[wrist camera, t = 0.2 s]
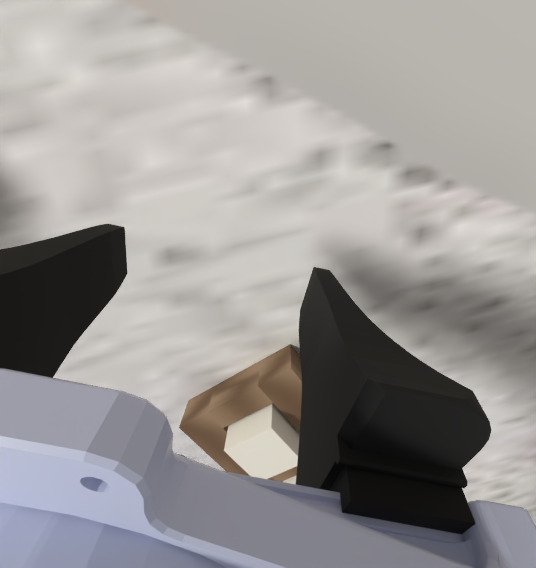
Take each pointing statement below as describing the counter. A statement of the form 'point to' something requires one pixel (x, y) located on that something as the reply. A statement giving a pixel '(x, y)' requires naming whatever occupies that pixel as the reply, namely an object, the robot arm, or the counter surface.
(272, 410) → the white square block
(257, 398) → the brown flat rectangular frame
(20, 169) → the counter surface
